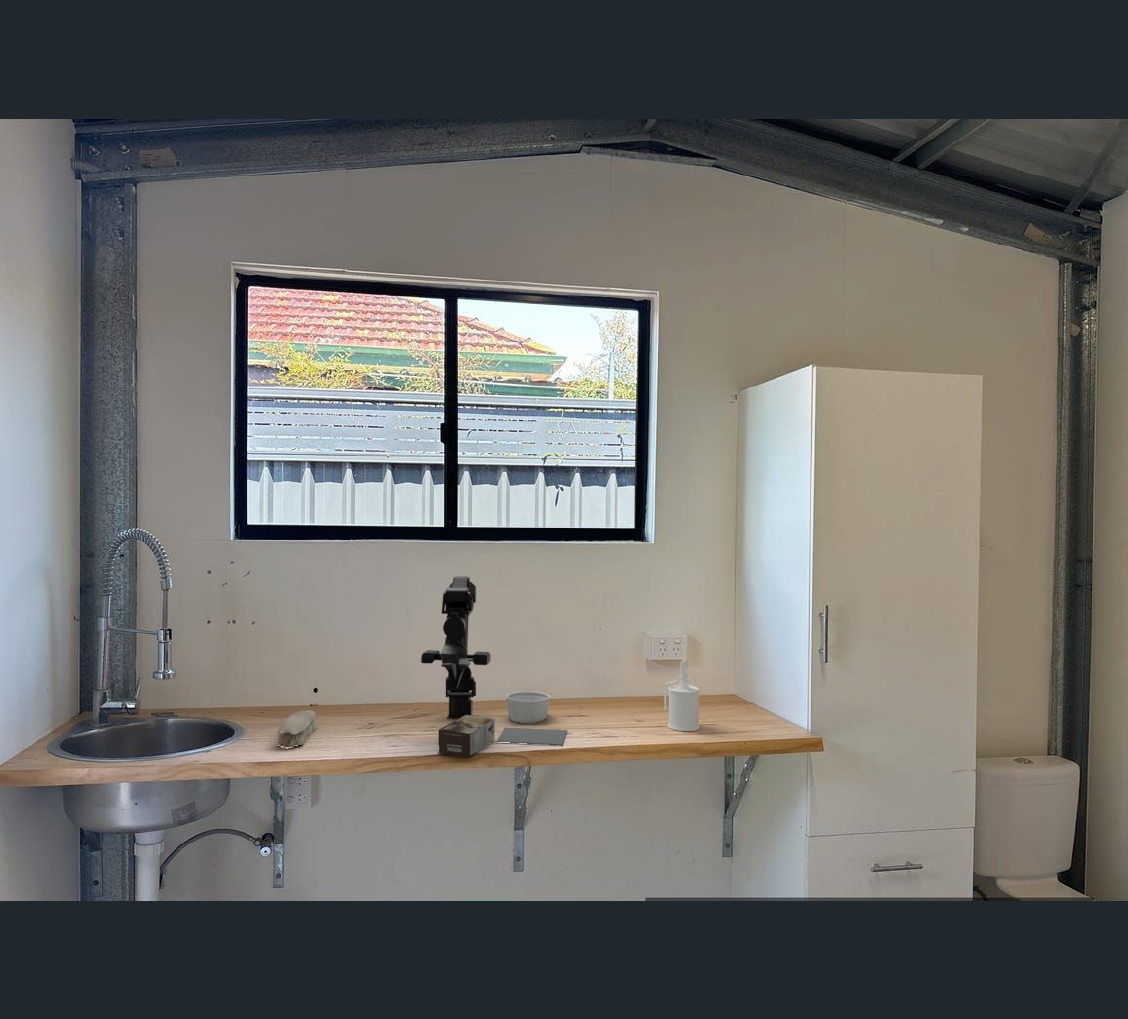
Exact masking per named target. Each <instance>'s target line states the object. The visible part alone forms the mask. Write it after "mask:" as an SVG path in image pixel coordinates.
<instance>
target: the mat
mask: <svg viewBox="0 0 1128 1019" xmlns="http://www.w3.org/2000/svg"><path fill="white" fill-rule="evenodd" d="M566 732H567V733H568V729H556V728H555V729H553V728H552V729H551V728H530V727H529V728H527V727H523V728H522V727H504V729H503V730H502V731H501V733H500V735H499V737H498V738H497V739H496V741H495V742H510V743H527V744H526V745H532V744H549V745H548V746H556V745H562V746H564V742H563V741H565V739H566V736H567V733H566Z"/></svg>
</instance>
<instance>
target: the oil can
mask: <svg viewBox="0 0 1128 1019" xmlns="http://www.w3.org/2000/svg"><path fill="white" fill-rule="evenodd" d="M679 664H680V665H679V670H680V672H679V673H680V674H679V676H678V678H677V679H675V680H672V681H669V682H666V683H665V684H664V687H663V688H664V696H663V701H664V702H663V707H664V708H663V710H664V711H666V710H667V690H668V724H667V727H668V729H670V730H673V731H675V730H676V732H682V731H686V732H685V733H687V731H691V732H696V731H699V730H700V722H699V720H700V716H699V714H700V712H699V711H700V692H701V689H700V688H699V687H697V686H693V685H694V684H695V682H696V675H695V673H694V672H693V671H691V670H690V671H689V670H688V659H685V658H683V659H682V661H680V663H679ZM688 673H691V674H692V675H693V678H694V679H693V682H692V683H691V684H690V680H689V679H688ZM678 681H679V683H678V684H674V683H675V682H678ZM672 683H673V684H674V685H670V684H672ZM667 685H670V686H668V688H667Z"/></svg>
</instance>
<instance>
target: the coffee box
mask: <svg viewBox="0 0 1128 1019" xmlns="http://www.w3.org/2000/svg"><path fill="white" fill-rule="evenodd" d="M495 721H496V720H495V718H494V717H485V716H478V715H476V716H475V715H471V716H469V715H465V716H463V717H461V718H457V719H456V720H454V721H451V722H450V723H449V724H446V725H445V726H443V727H442V728H440V729H438V735H437V737H438V741H437V742H438V754H439V753H440V754H439V755H446V756H454V757H461V758H462V757H463V758H468V759H469V758H471V757H473V756H474V755H475V754H477V753H478V752H480V751H481V750H482V748H483V747H484V748H485V746H486V745H487V746H489V745H490V744H492V743H493V742H494V741H495V724H496V723H495ZM492 741H493V742H492ZM491 742H492V743H491ZM489 743H490V744H489ZM487 746H486V747H487ZM484 748H483V749H484ZM480 749H481V750H480ZM479 750H480V751H479Z"/></svg>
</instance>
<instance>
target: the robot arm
mask: <svg viewBox="0 0 1128 1019" xmlns="http://www.w3.org/2000/svg"><path fill="white" fill-rule="evenodd" d="M475 603H477V586H476V585H475V584H474V583H472V582H471V577H468V576H466V575H465V576H459V575H456V576H454V577H453V578H452V582H451V583H450V584H449V586H448V587H447V588H446V589H445V591H443V592H442V603H441V604H442V605H441V615H446V620H445V621H444V623H443V626H442V630H443V633H444V635H445V640H444V645H443V647H442V649H441V650H439V649H438V650H435V649H434V650H433V649H431V650H430V649H428V650H427V649H426V651H424V652H423V653H422V654H421V656H420V658H421V659H420V663H422V664H429V665H430V664H433V663H434V662H435V661H441V664H440V666H441V667H442V668H445V669H446V671H447V673H448V674H447V676H446V677H445V698H448V715H447V716H446V718H447V719H459V718H461V717H463V716H465V715H469V716H472V715H473V713H474V712H473V711H474V708H473V704H474V701H473V699H472V698H474V697H476V696H477V681H476V680H475V679H474V678H475V677H474V676H473V673H472V670H471V668H470V665H471V664H472V663H473V664H474V666H488V664H490V663H491V653H490V652H489V651H476V652H474V653H473V654H468V647H469V643H468V642H469V619H470V618H469V617H470V615H471V614H472V612H473V611H474V609H475V607H474V606H475ZM471 662H472V663H471Z"/></svg>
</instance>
